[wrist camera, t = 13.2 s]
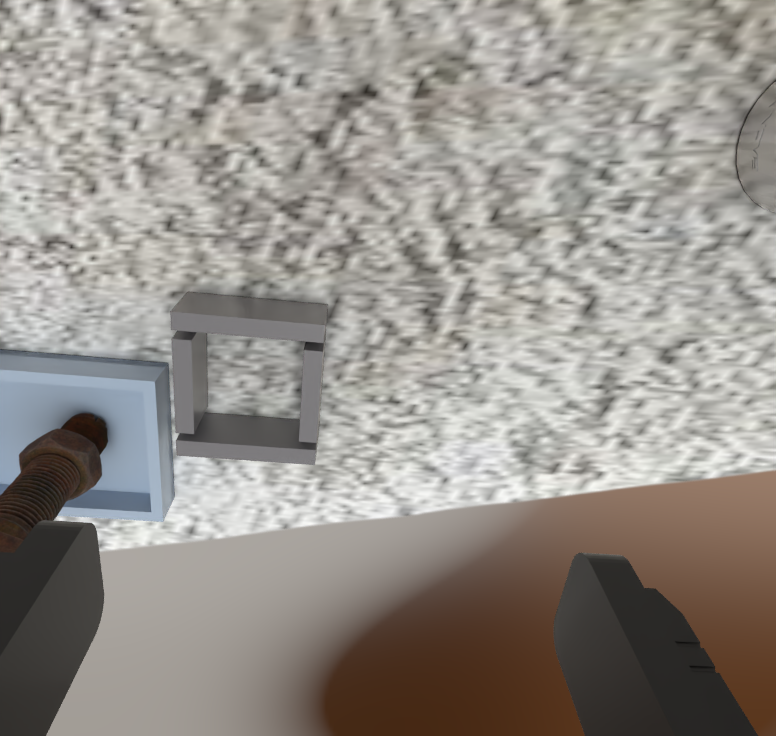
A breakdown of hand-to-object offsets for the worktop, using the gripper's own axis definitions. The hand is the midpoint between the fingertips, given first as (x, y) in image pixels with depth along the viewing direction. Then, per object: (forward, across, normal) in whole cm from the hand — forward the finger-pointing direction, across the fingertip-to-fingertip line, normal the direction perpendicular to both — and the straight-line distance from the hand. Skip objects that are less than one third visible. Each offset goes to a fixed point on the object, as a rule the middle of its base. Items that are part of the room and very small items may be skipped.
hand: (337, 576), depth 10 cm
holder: (+31, +6, +11) cm, 34 cm away
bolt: (+30, +18, +17) cm, 39 cm away
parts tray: (+31, +19, +17) cm, 40 cm away
